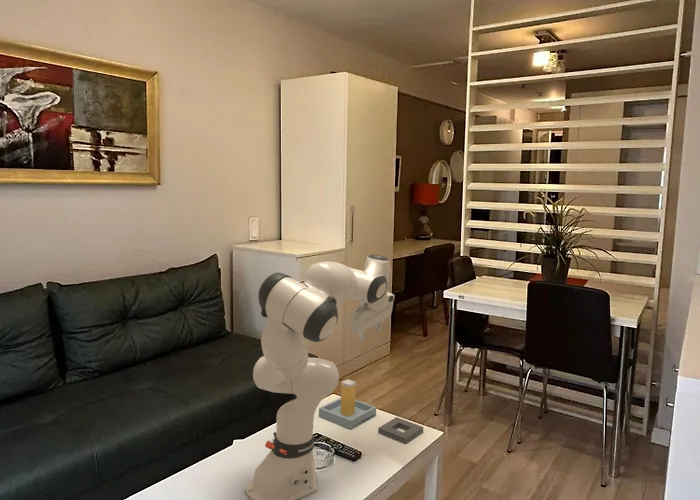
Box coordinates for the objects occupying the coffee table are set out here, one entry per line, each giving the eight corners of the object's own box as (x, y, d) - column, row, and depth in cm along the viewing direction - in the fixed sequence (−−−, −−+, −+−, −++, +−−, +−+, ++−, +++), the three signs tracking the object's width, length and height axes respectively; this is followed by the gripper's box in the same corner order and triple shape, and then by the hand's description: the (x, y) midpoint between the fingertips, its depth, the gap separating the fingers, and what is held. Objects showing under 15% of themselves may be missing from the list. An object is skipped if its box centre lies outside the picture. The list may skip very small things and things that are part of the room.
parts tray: (350, 429, 192) (351, 420, 192) (318, 416, 202) (319, 408, 202) (375, 415, 205) (376, 407, 204) (344, 403, 215) (344, 395, 214)
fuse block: (405, 444, 183) (406, 438, 183) (378, 432, 191) (378, 427, 190) (423, 432, 193) (423, 427, 192) (396, 421, 200) (396, 417, 200)
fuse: (348, 417, 200) (349, 385, 199) (340, 413, 203) (341, 382, 201) (355, 413, 204) (356, 381, 202) (346, 410, 206) (348, 379, 205)
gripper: (362, 312, 167) (358, 349, 172) (397, 294, 183) (393, 328, 188) (347, 306, 171) (344, 342, 176) (383, 288, 186) (378, 322, 191)
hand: (369, 335), depth 182 cm, fingers open, 8 cm apart
